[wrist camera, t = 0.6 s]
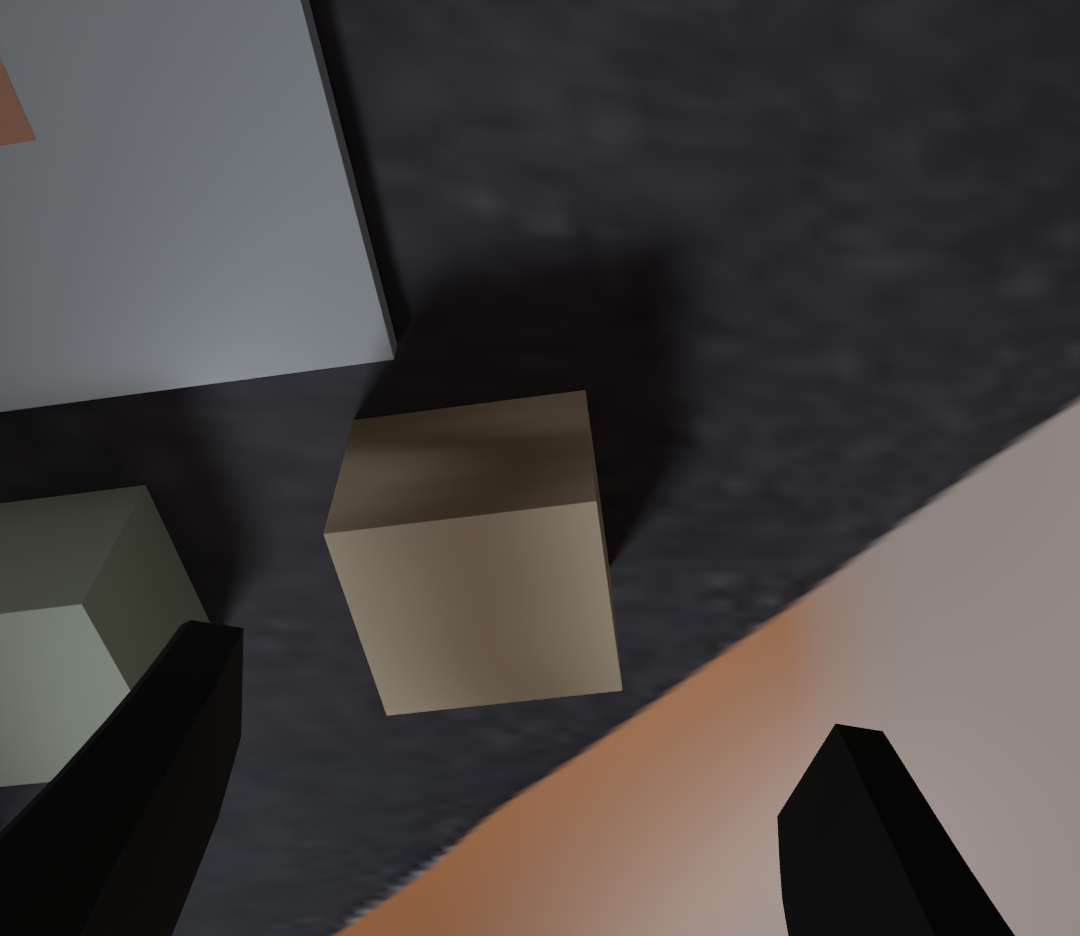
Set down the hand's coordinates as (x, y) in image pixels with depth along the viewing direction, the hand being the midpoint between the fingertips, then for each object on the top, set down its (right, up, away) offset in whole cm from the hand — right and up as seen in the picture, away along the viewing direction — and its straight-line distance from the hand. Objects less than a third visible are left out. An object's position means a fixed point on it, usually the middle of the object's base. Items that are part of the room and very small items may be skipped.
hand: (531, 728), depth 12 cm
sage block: (-11, +1, +12) cm, 16 cm away
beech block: (-1, +3, +10) cm, 11 cm away
